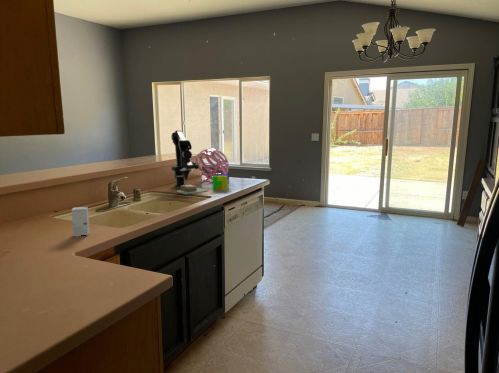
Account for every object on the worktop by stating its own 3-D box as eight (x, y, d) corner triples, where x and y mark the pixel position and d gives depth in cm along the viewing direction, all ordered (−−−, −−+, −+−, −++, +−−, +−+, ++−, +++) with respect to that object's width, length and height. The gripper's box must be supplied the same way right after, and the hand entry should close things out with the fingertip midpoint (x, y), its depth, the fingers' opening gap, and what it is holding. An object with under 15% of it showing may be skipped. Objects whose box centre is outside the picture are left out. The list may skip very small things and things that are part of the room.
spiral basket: (199, 160, 265) (220, 138, 279) (180, 166, 286) (200, 145, 300) (222, 188, 275) (241, 165, 290) (202, 192, 296) (220, 170, 311)
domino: (180, 185, 256) (187, 187, 248) (189, 184, 260) (196, 186, 252) (180, 189, 256) (187, 191, 248) (189, 188, 260) (196, 190, 252)
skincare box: (73, 237, 155) (70, 209, 153) (75, 233, 160) (72, 207, 158) (88, 235, 157) (85, 208, 155) (90, 232, 161) (88, 206, 159)
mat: (175, 191, 253) (175, 190, 252) (198, 188, 263) (198, 187, 263) (185, 194, 242) (185, 193, 242) (208, 191, 252) (208, 190, 252)
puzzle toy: (229, 187, 264) (228, 174, 262) (227, 190, 254) (226, 176, 252) (215, 187, 265) (215, 174, 263) (213, 190, 255) (212, 176, 253)
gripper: (178, 159, 241) (179, 182, 244) (202, 157, 252) (203, 179, 255) (170, 158, 250) (171, 180, 252) (194, 156, 261) (195, 177, 264)
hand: (185, 179), depth 256 cm, fingers closed
